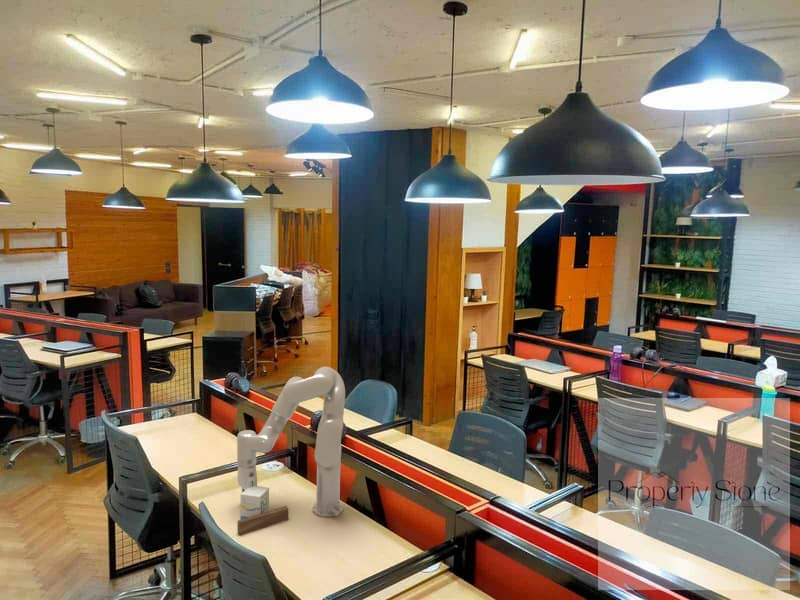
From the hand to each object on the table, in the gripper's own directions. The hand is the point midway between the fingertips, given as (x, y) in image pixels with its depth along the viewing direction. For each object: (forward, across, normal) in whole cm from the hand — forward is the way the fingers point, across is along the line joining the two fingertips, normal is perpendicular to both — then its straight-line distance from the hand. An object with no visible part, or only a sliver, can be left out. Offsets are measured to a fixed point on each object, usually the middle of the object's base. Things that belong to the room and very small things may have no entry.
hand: (246, 503), depth 224 cm
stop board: (+2, -17, 0) cm, 17 cm away
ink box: (+2, -9, 0) cm, 9 cm away
